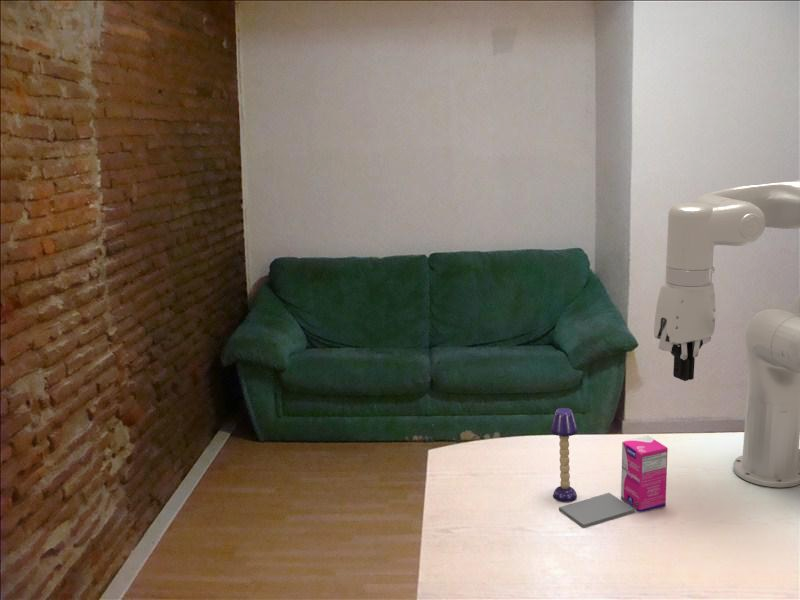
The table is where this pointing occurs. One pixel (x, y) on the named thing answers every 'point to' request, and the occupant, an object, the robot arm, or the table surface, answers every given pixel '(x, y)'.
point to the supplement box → (644, 473)
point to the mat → (596, 510)
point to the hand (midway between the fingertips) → (683, 377)
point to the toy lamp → (564, 452)
